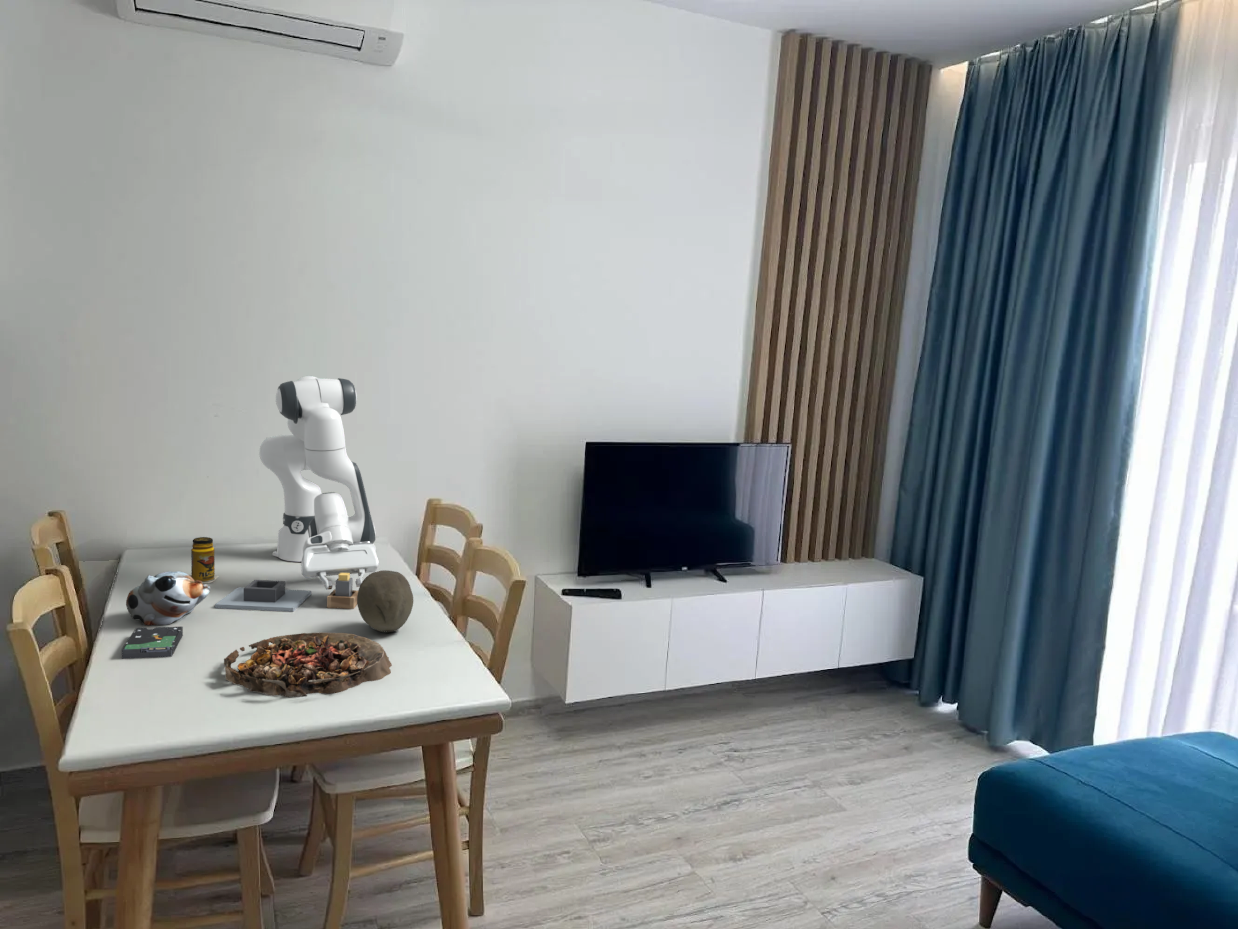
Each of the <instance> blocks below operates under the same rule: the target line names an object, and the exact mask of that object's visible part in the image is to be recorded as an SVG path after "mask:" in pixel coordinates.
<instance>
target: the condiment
mask: <svg viewBox="0 0 1238 929" xmlns="http://www.w3.org/2000/svg"><path fill="white" fill-rule="evenodd" d="M213 541H214V540H213V538H212V537H210V536H209V537H207V536H199V537H195V538H193V539H192V545H191V546H192V548H191V550H190V552H191V553H190V554H191V558H190V559H191V560H190V561H191V562H190V563H191V565H190V566H191V571H190V572H191V573H190V574H188V575H189V576H190V577H192V578H193V579H194V581H196V580H198V581H202V584H211V583H212V584H213V583H214V582H215V581H216V579H218V577H219V575H216V573H215V570H216V569H215V565H216V564H215V547H214V543H213Z"/></svg>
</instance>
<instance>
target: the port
mask: <svg viewBox="0 0 1238 929" xmlns="http://www.w3.org/2000/svg"><path fill="white" fill-rule="evenodd" d="M311 595H312V590H308V589H307V590H306V589H288V588H287V589H286V581H285V580H269V579H268V580H267V579H266V580H265V579H254V580H253V581H251V582H250V583H248V584H247V585H246V586H243V587H242V586H237V588H235V589H233V590H232V591H231V592H230V593H228V594H226V596H224V597H222V598H221V599H220V600H218V602H217V603H215V604H214V608H215V609H224V610H225V609H229V610H246V611H247V610H250V611H251V610H252V611H270V612H271V611H273V612H289V613H291V612H294V611H295V610H296V609H297V608H299V606H300V605H301V604H302V603H304V602H305V601H306V600H307V599H308V598H309V597H310V596H311Z"/></svg>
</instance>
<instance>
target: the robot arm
mask: <svg viewBox="0 0 1238 929" xmlns="http://www.w3.org/2000/svg"><path fill="white" fill-rule="evenodd" d="M275 402H276V403H275V404H276V407H277V409H278V410H279V414H280V415H282V416H283V417H284V418H286V419H287V422H286V423H287V428H288V429H289V431H290V432H291V434H280V435H279V434H278V435H273V436H269V437H266V438H264V440H263V441H262V443H261V445H260V446H259V450H258V451H259V454H258V455H259V457H260V461H261V462H262V463H261V464H262V465H264V467H265V468H267V469H268V470H270V471H271V472H272V473H274V475H275V476H276V477H277V478H278V480H279V482H280V484H281V487H282V489H283V496H284V498H283V499H284V512H283V513H282V514H283V515H282V525H283V526H282V527H281V528H279V530H278V531H277V532H278V536H277V550H274V551H273V552H272V557H276V558H279V559H281V560H283V561H288V562H296V563H297V562H299V563H300V562H301V563H300V566H301V567H300V570H301V575H302V576H303V577H304V578H306V579H307V578H319V580H320V582H321V583H322V584H323V585H324V587H325V590H326V591H328V590H332V589H333V584H332V583H333V580H328V578H327V577H331V576H333V577H334V576H338V575H339V574H340V573H350V575H355V574H357V576H358V577H359V578H356V579H355V587H356V588H359V587H360V585H361V583H362V582H363V579H364V578H363V577H364V576H365V574H366V573H369V574H370V573H373V572H377V570H378V568H379V566H380V561H379V558H378V555H377V547H376V545H375V541H376V538H377V533H376V527H375V523H374V521H373V519H372V515H371V511H370V506H369V502H368V498H367V493H366V489H365V485H364V479H363V476H362V473H361V471H360V468H359V466H358V465H357V463H356V462H354V461H352V460H351V459H350V457H349V455H348V454H347V446H346V436H345V430H344V423H343V420H342V417H341V416H345V415H348V414H351V413H353V411H354V410H355V409H356V406H357V402H358V394H357V390H356V388H355V385H354V383H353V382H352V381H350V380H349V379H346V378H340V377H339V378H337V379H336V378H319V377H317V376H312V375H306V376H302V377H300V378H299V379H297V380H296V381H293V380H289V381H288V380H287V381H285V382H282V383H280V384H279V386H278V387H277V391H276V395H275ZM303 471H311V472H312V473H313V474H315V475H317V476H318V477H320V478H323V479H325V480H329V481H332V482H336V483H339V484H342V485H344V486H345V487H347V489H349V492H350V497H351V501H352V505H353V510H354V514H353V515H352V516H349V515H348V511H347V507H346V504H345V501H344V498H343V496H342V494H340V493H338V492H334V491H333V492H332V491H331V492H329V491H328V492H322V488H321V487H320V486H319V485H318V484H317V483H315V482H314V481H311V480H310V479H306V478H304V476H302V472H303Z"/></svg>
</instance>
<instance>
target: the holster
mask: <svg viewBox="0 0 1238 929" xmlns="http://www.w3.org/2000/svg"><path fill="white" fill-rule="evenodd" d="M358 590H359V589H358ZM358 590H357V589H356V590H353V589H352V596H351V597H344V596H335V588H334V589H333V590H332V591H331V592H330V593H329V594H328V596H326V608H327V609H346V610H354V609H355V608H356V607H358V605H357V594H358Z"/></svg>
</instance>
